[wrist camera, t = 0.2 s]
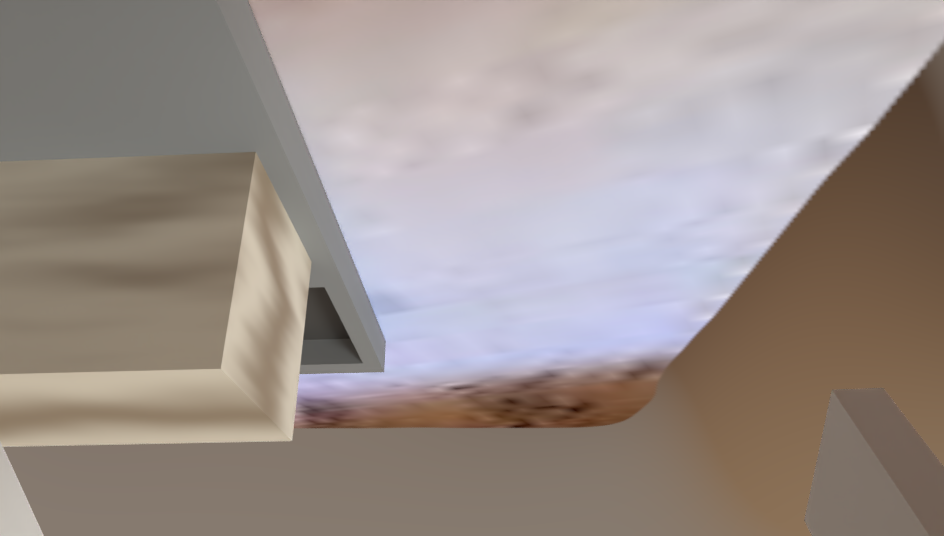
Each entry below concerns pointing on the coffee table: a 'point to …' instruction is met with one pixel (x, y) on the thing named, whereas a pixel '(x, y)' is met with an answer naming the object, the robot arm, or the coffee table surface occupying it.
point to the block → (148, 302)
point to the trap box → (181, 125)
